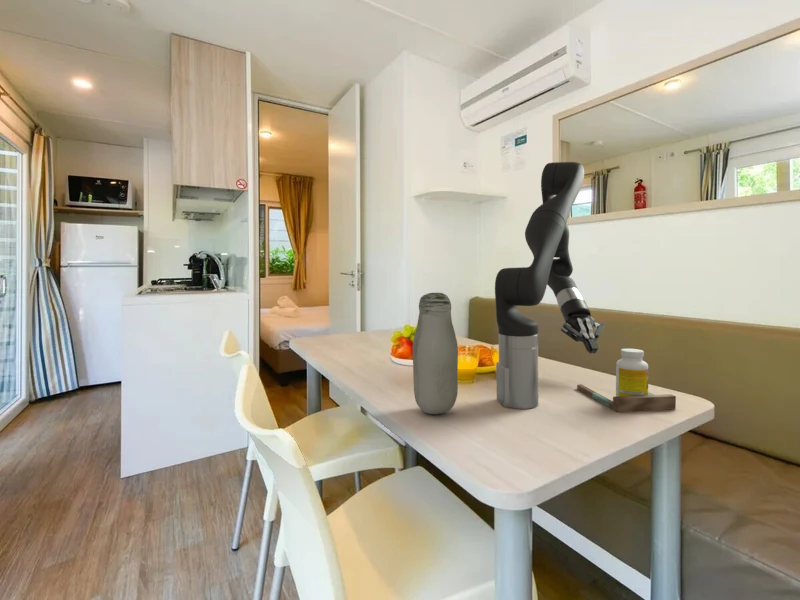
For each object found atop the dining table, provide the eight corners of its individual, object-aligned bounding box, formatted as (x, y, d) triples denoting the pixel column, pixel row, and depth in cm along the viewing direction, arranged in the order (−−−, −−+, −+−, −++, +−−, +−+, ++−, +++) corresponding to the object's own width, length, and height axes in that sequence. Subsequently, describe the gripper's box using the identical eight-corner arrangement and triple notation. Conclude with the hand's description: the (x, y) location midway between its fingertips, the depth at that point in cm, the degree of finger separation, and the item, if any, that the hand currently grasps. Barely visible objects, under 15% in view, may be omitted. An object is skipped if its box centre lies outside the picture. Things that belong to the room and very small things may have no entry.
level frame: (616, 411, 86) (617, 398, 86) (577, 388, 104) (577, 378, 103) (675, 409, 87) (675, 396, 87) (626, 386, 104) (626, 376, 104)
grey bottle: (432, 423, 82) (429, 294, 80) (406, 410, 91) (403, 293, 89) (467, 413, 87) (465, 292, 85) (439, 402, 96) (437, 291, 94)
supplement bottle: (652, 408, 88) (653, 353, 87) (620, 406, 89) (621, 352, 89) (642, 399, 94) (642, 347, 93) (612, 397, 96) (612, 347, 95)
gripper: (555, 297, 115) (576, 344, 104) (598, 297, 116) (622, 343, 104) (547, 313, 121) (566, 359, 109) (588, 313, 121) (610, 358, 110)
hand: (594, 351), depth 107 cm, fingers closed
